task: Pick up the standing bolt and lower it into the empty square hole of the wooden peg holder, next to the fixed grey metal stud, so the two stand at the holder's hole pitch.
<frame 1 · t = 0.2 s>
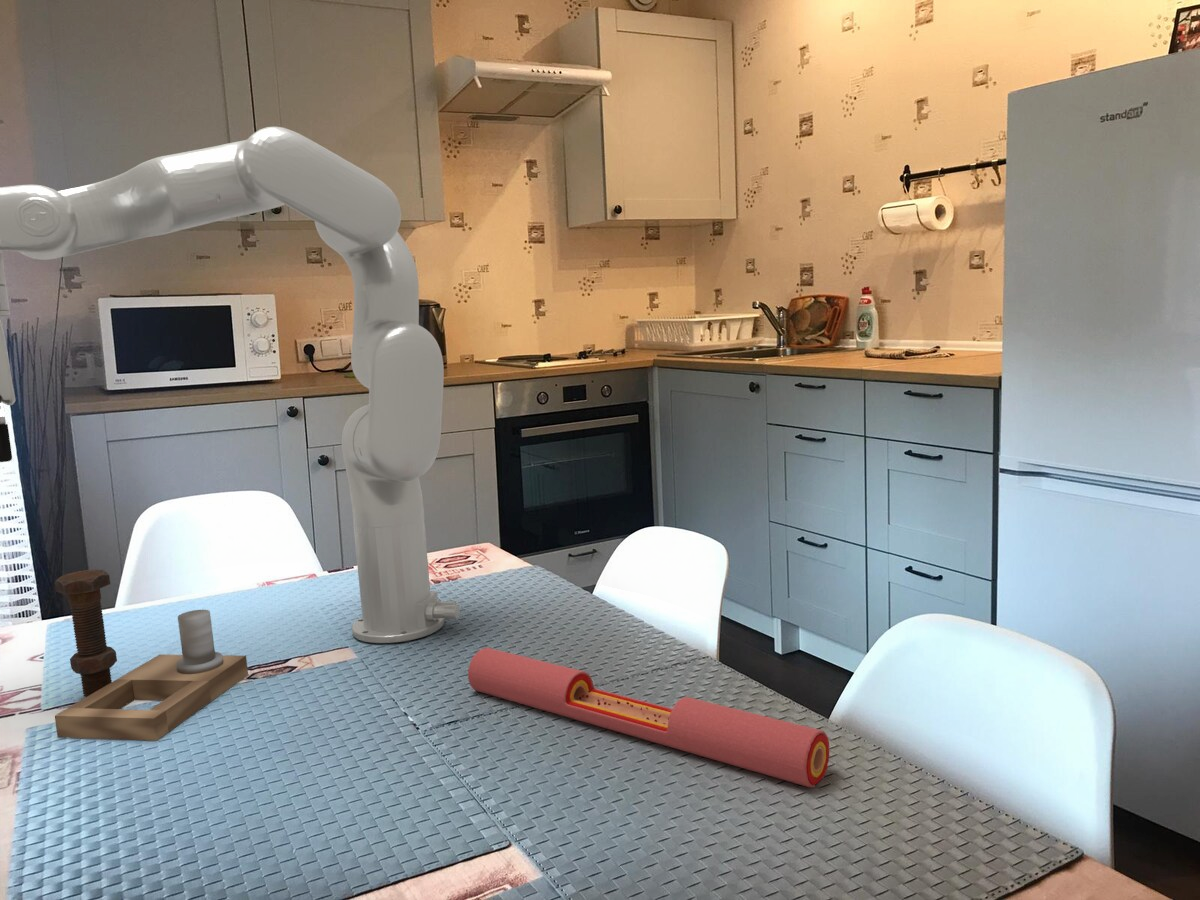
wooden peg holder: (159, 703, 110), on the table
blood vessel: (629, 733, 97), on the table
bolt: (98, 697, 113), on the table
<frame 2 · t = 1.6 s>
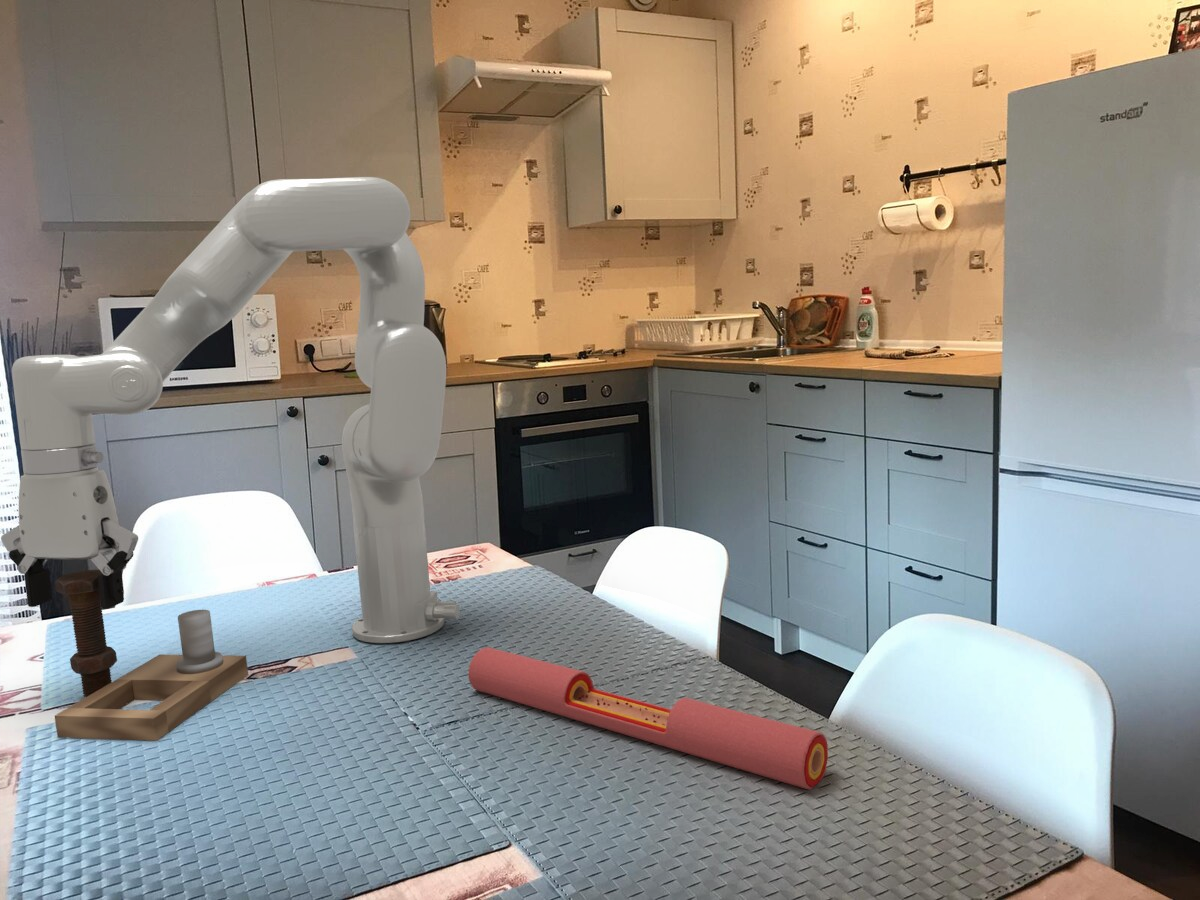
hand: (76, 604, 112), 12 cm above the table, tool pointing down, fingers open, 9 cm apart
nothing on the table moved.
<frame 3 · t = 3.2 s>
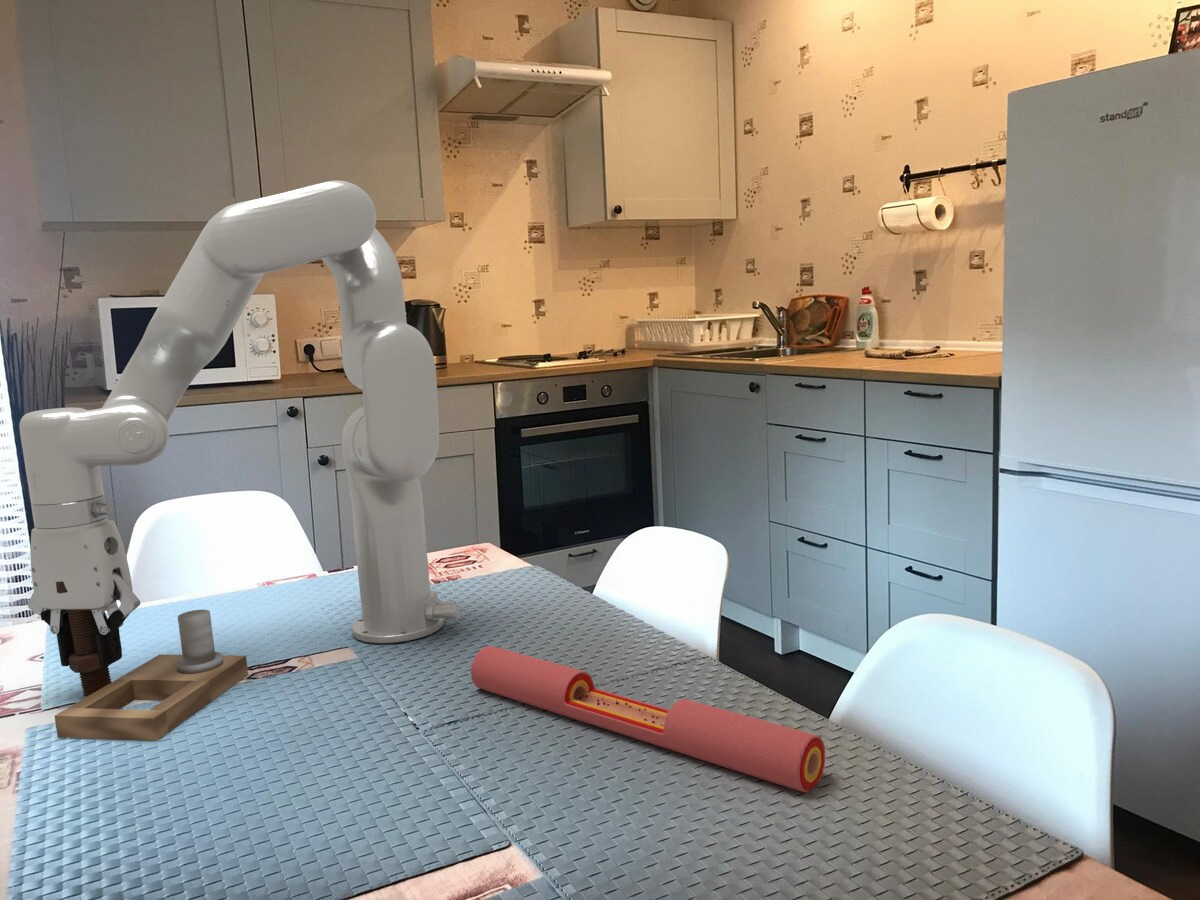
hand: (92, 660, 113), 4 cm above the table, tool pointing down, fingers closed on bolt, 4 cm apart
bolt: (98, 696, 113), on the table, touching gripper
everything else where it was.
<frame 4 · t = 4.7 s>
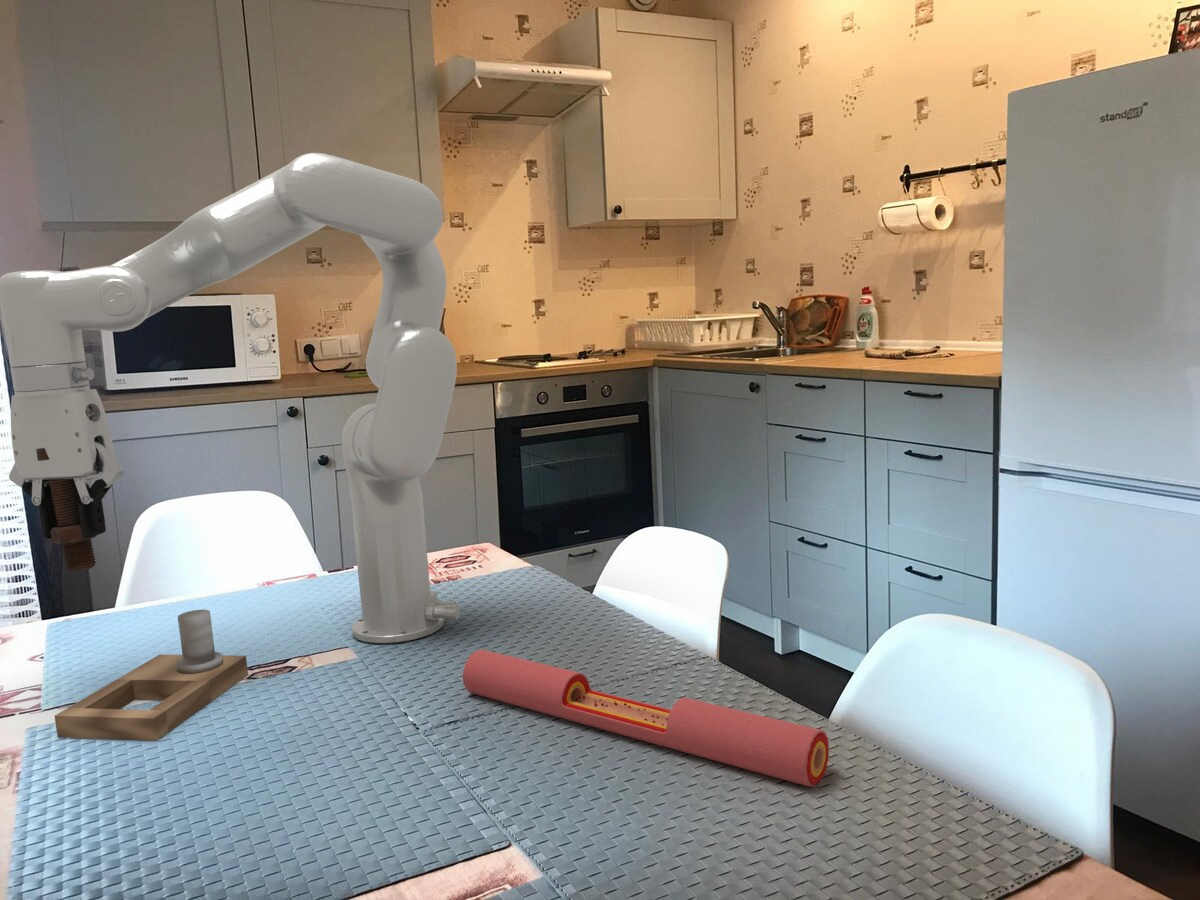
hand: (74, 533, 111), 20 cm above the table, tool pointing down, fingers closed on bolt, 4 cm apart
bolt: (82, 570, 111), point 16 cm above the table, touching gripper
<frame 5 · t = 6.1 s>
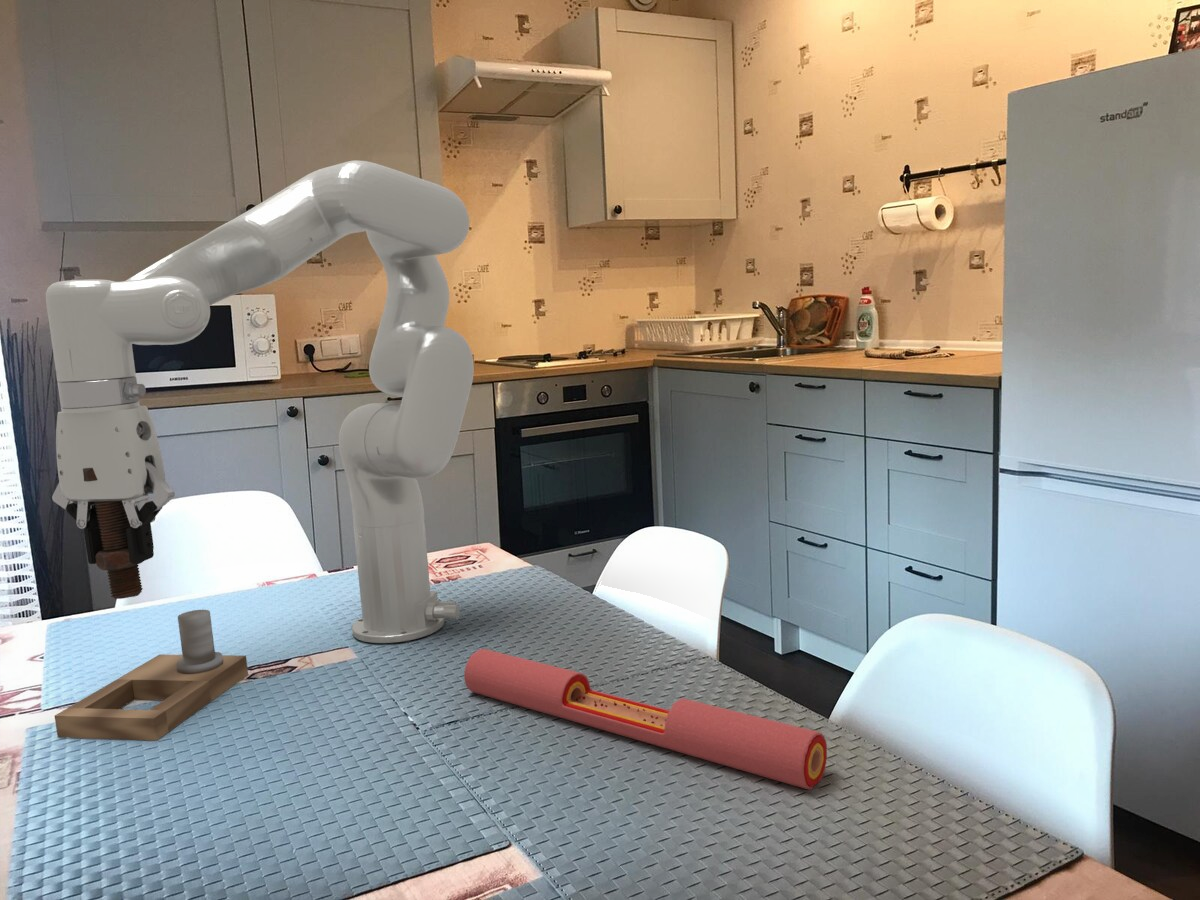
hand: (121, 558, 104), 18 cm above the table, tool pointing down, fingers closed on bolt, 4 cm apart
bolt: (127, 598, 105), point 14 cm above the table, touching gripper
everything else where it was.
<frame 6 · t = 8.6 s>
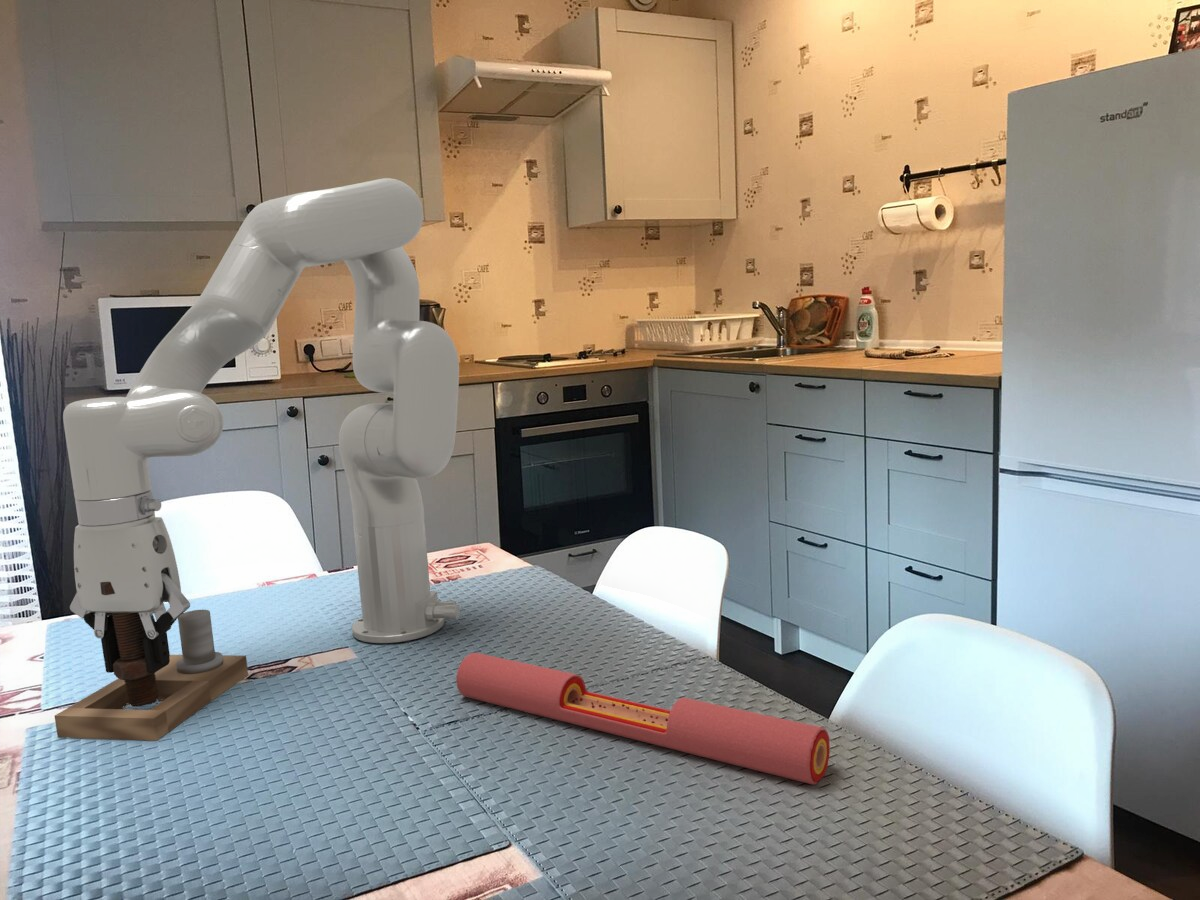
hand: (138, 666, 106), 6 cm above the table, tool pointing down, fingers closed on bolt, 4 cm apart
bolt: (144, 704, 107), point 1 cm above the table, touching gripper
when the fingers open (6 cm above the table, at t = 8.9 s): bolt drops 1 cm, resting in wooden peg holder.
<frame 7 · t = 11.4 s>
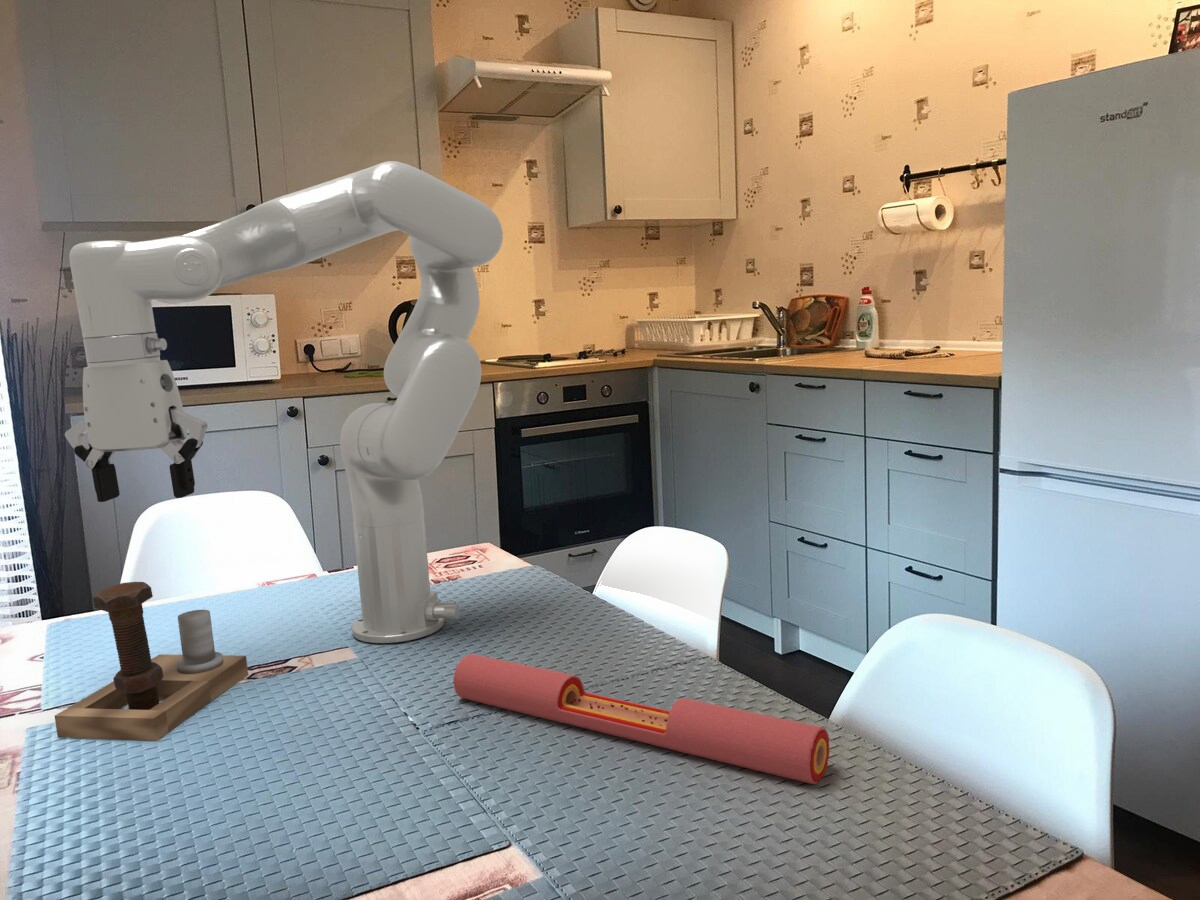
hand: (146, 497, 110), 24 cm above the table, tool pointing down, fingers open, 9 cm apart
bolt: (146, 715, 107), resting in wooden peg holder
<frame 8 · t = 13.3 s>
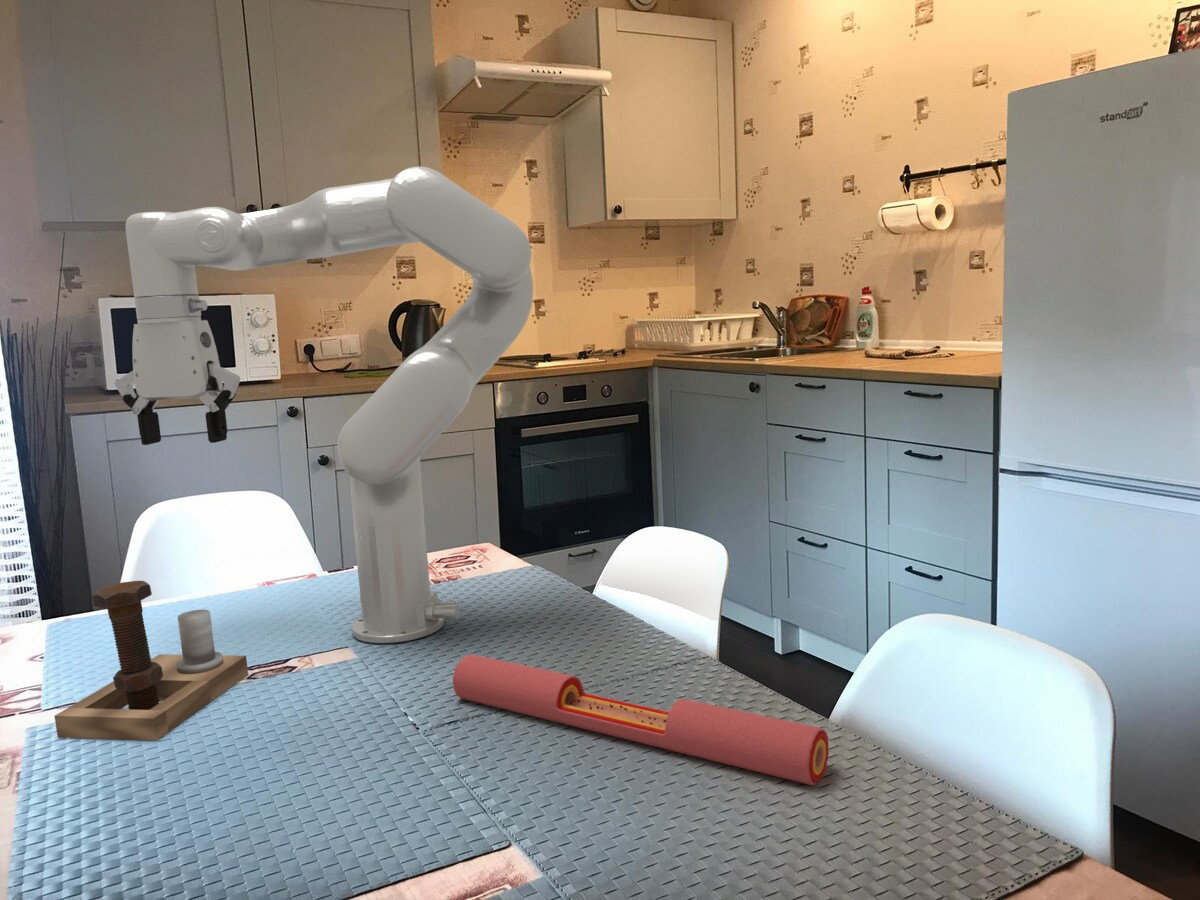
hand: (184, 442, 124), 28 cm above the table, tool pointing down, fingers open, 9 cm apart
at the end: bolt 0.4 cm from the target spot on the wooden peg holder, point 0.0 cm above the wooden peg holder's base; bolt tilted 3°; the gripper is holding nothing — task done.
